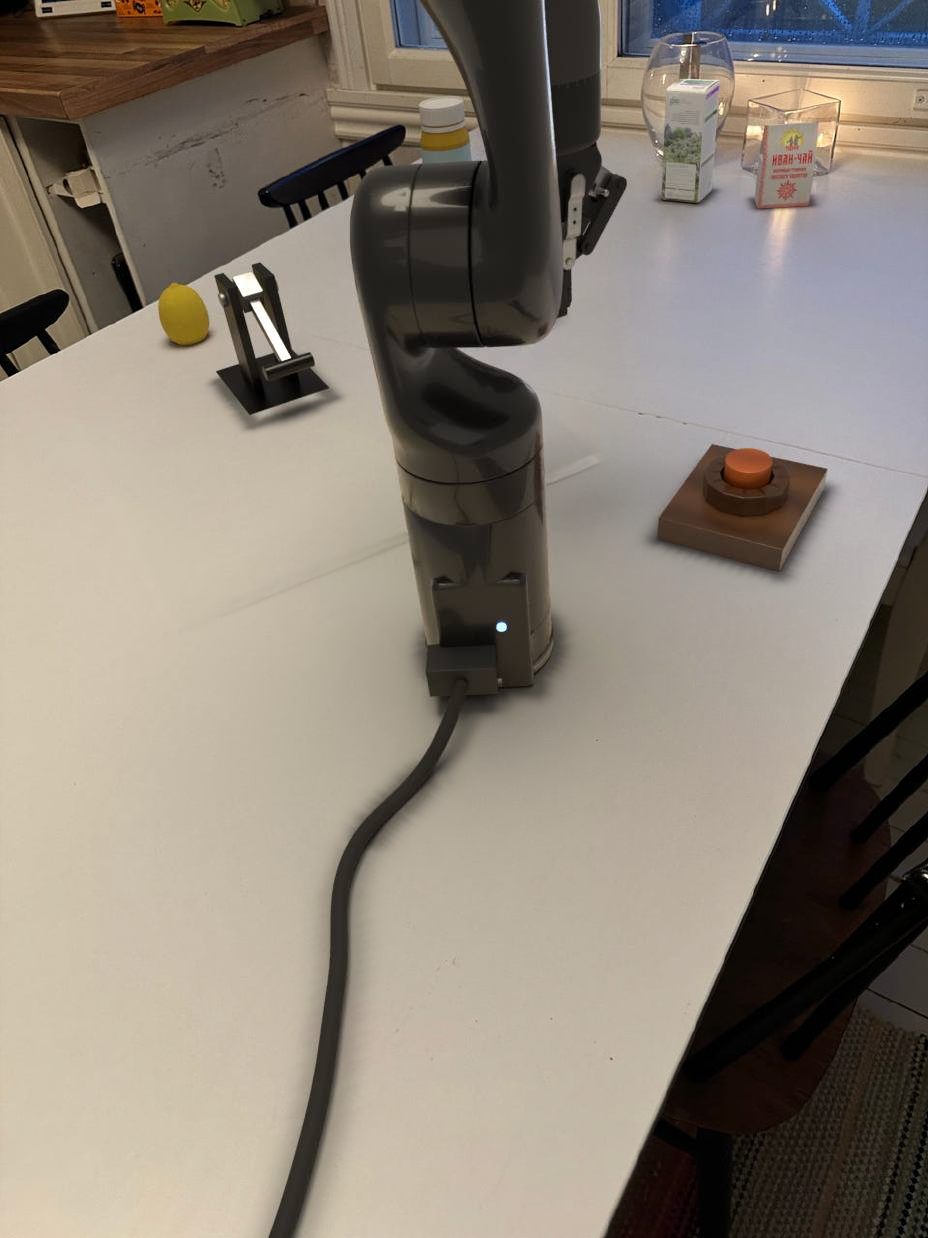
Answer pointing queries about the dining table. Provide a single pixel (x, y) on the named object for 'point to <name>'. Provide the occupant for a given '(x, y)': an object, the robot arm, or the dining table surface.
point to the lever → (269, 329)
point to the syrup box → (689, 139)
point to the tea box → (786, 165)
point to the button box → (742, 511)
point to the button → (747, 468)
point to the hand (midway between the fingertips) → (552, 315)
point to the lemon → (183, 315)
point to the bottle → (444, 130)
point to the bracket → (248, 373)
